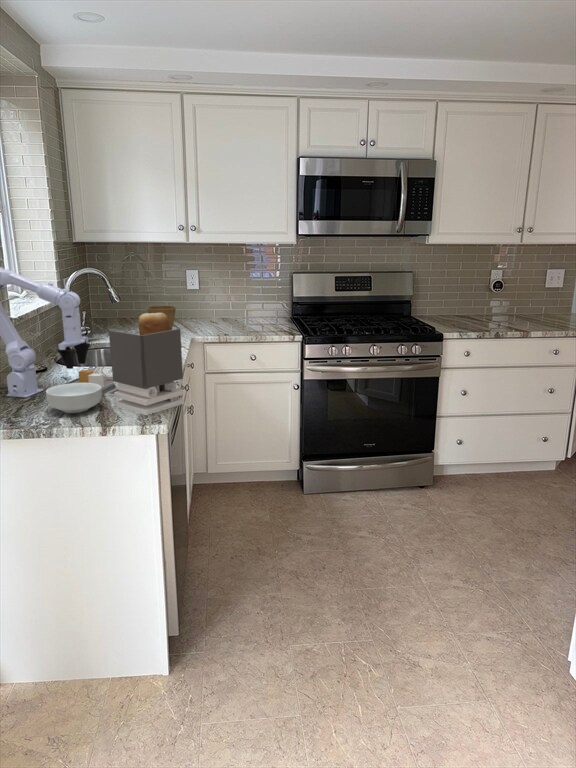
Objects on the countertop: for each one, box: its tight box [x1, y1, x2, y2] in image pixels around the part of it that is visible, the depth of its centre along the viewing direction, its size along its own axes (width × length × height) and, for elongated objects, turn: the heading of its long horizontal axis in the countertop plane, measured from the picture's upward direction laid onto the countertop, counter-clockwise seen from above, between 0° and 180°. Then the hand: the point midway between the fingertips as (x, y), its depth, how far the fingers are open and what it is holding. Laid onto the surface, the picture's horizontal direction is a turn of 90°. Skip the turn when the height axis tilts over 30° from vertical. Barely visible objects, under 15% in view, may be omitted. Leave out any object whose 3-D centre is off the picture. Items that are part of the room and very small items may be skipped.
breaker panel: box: [73, 373, 116, 395], centre depth 206 cm, size 21×16×6 cm
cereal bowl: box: [45, 383, 103, 414], centre depth 180 cm, size 17×17×7 cm
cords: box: [65, 377, 119, 395], centre depth 210 cm, size 19×22×1 cm
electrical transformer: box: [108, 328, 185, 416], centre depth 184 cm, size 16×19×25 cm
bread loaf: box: [138, 312, 170, 335], centre depth 221 cm, size 14×13×25 cm
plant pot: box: [146, 305, 176, 330], centre depth 304 cm, size 15×15×16 cm
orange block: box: [78, 369, 94, 383], centre depth 205 cm, size 3×4×4 cm
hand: (76, 366), depth 199 cm, fingers open, 7 cm apart
